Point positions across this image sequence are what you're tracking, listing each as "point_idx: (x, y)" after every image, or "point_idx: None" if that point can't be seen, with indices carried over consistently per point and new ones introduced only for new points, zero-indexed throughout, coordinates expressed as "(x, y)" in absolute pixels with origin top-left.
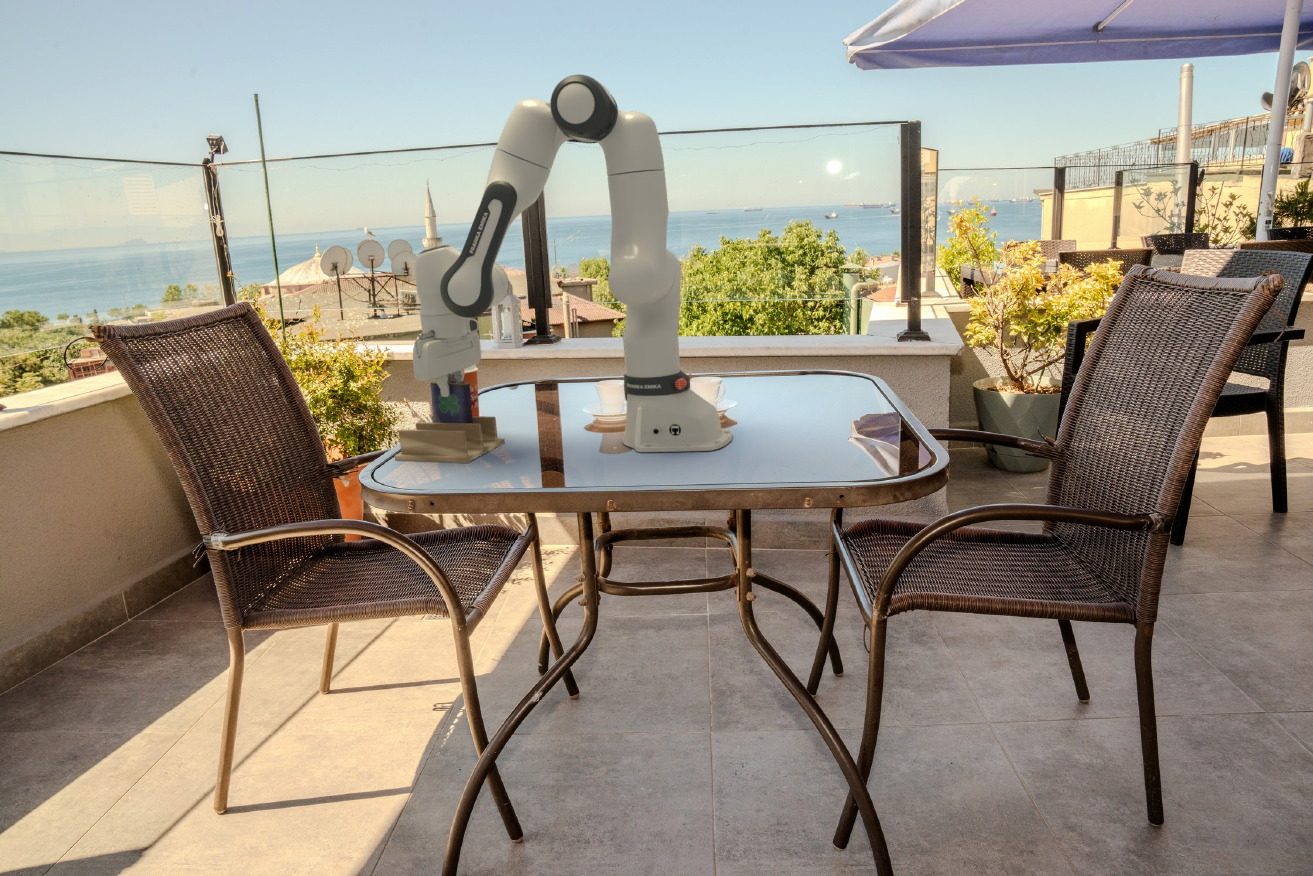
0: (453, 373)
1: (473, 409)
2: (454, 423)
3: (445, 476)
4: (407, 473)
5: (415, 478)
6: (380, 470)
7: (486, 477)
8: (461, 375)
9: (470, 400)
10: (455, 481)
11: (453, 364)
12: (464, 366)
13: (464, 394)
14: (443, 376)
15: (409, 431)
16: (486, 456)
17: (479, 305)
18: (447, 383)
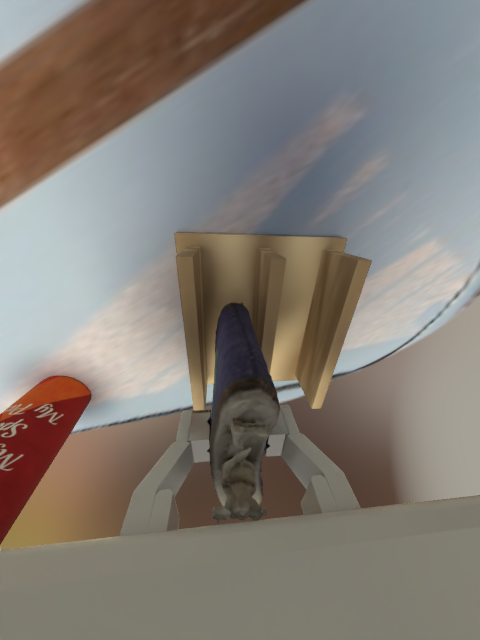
0: (227, 515)
1: (41, 402)
2: (267, 336)
3: (423, 236)
4: (382, 318)
5: (417, 288)
6: (355, 363)
7: (470, 116)
8: (162, 486)
9: (240, 337)
10: (469, 192)
11: (305, 617)
12: (138, 559)
13: (266, 364)
14: (357, 505)
15: (326, 388)
16: (290, 220)
17: None
18: (308, 455)
